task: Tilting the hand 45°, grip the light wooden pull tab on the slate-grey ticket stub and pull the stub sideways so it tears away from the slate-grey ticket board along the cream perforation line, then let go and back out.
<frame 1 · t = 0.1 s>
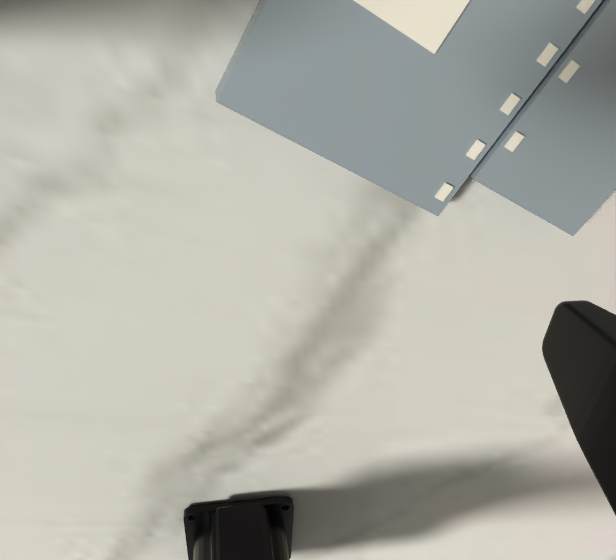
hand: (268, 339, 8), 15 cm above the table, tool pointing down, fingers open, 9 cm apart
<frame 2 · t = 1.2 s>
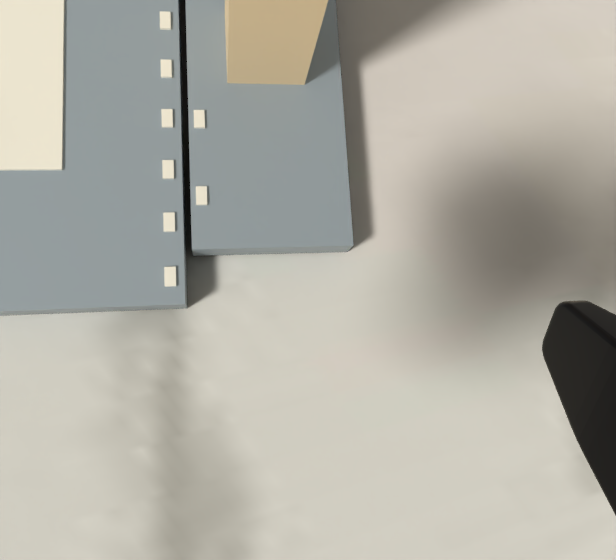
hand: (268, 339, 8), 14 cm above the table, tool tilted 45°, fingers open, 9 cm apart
ticket board: (50, 59, 22), on the table
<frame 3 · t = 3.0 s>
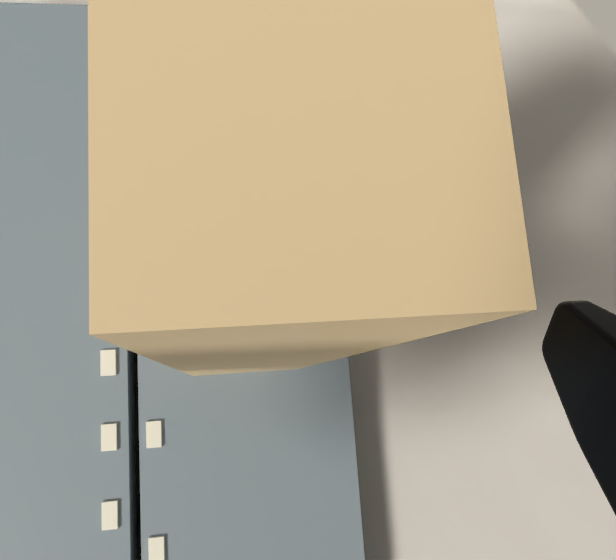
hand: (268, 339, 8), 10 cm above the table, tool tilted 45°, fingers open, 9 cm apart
ticket stub: (255, 284, 11), point 7 cm above the table, slide at 0.0 cm
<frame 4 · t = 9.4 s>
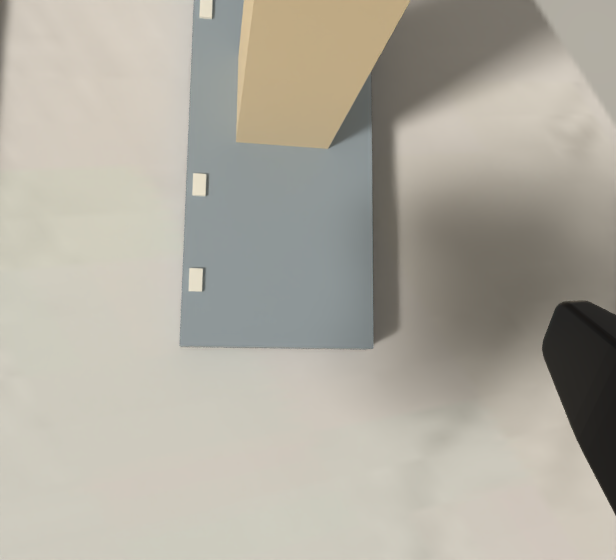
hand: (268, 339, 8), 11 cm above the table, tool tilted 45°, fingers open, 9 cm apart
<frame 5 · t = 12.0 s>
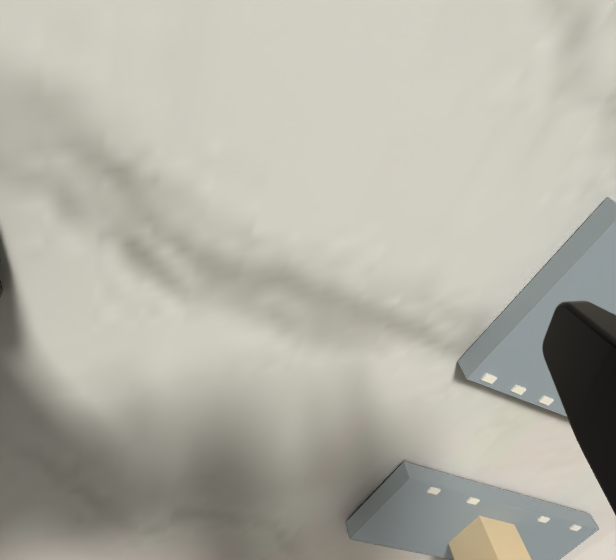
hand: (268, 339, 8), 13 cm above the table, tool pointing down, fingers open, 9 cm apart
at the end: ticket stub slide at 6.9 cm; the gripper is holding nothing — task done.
